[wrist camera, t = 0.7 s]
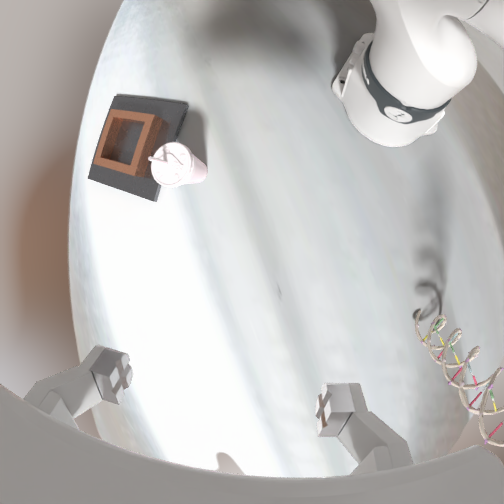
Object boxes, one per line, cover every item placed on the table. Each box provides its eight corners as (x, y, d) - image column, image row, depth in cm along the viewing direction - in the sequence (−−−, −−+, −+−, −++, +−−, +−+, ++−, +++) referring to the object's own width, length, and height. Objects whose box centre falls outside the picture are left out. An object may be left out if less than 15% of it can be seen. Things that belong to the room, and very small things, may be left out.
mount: (117, 97, 46) (105, 91, 42) (188, 106, 43) (178, 98, 39) (90, 178, 49) (78, 177, 46) (156, 201, 47) (144, 201, 43)
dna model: (404, 320, 41) (485, 441, 12) (432, 296, 39) (538, 392, 10) (419, 345, 41) (492, 464, 12) (446, 323, 39) (538, 424, 10)
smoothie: (186, 149, 44) (141, 130, 31) (220, 158, 43) (183, 139, 30) (175, 185, 46) (127, 178, 32) (208, 195, 45) (167, 191, 31)
